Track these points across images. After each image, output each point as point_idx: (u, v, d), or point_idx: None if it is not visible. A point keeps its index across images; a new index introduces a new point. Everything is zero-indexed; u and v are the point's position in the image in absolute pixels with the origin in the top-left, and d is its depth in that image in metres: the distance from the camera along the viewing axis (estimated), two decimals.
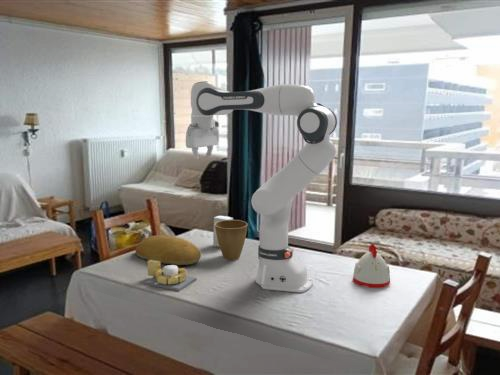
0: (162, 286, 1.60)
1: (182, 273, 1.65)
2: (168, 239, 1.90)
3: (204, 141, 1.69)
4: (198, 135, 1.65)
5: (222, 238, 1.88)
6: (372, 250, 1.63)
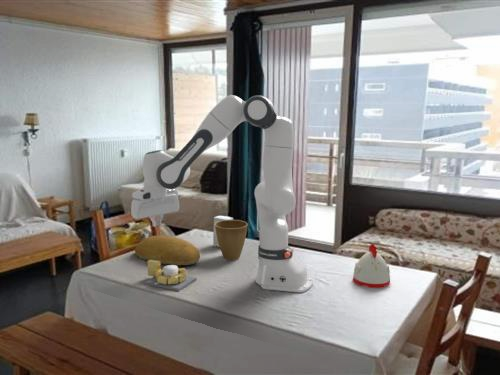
0: (162, 286, 1.60)
1: (182, 273, 1.65)
2: (167, 239, 1.90)
3: None
4: None
5: (222, 238, 1.88)
6: (372, 250, 1.63)
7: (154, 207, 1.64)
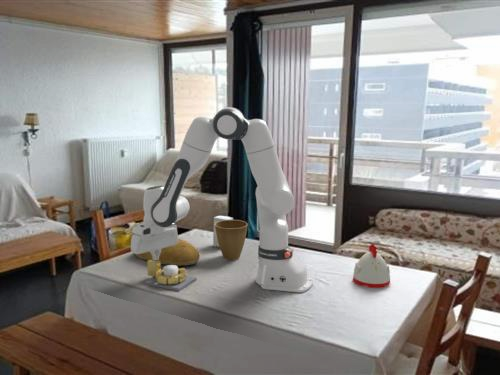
0: (162, 286, 1.60)
1: (182, 273, 1.65)
2: None
3: None
4: None
5: (222, 238, 1.88)
6: (372, 250, 1.63)
7: (153, 242, 1.66)
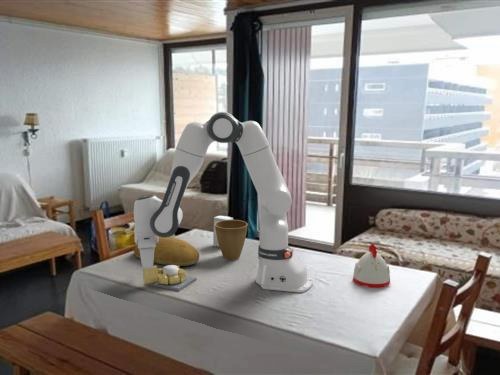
0: (162, 286, 1.60)
1: (181, 269, 1.69)
2: (166, 240, 1.89)
3: None
4: None
5: (222, 238, 1.88)
6: (372, 250, 1.63)
7: None
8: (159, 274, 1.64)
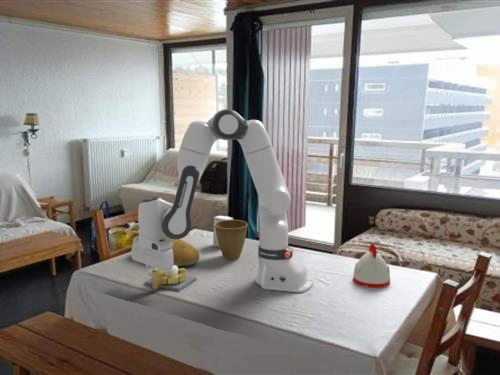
0: (162, 286, 1.60)
1: None
2: None
3: (145, 259, 1.57)
4: (138, 250, 1.60)
5: (222, 238, 1.88)
6: (372, 250, 1.63)
7: None
8: (163, 276, 1.62)
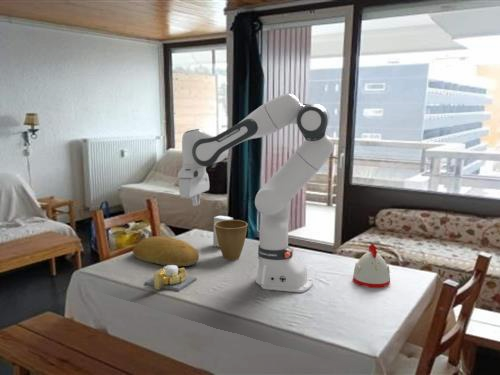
0: None
1: None
2: (166, 240, 1.89)
3: None
4: None
5: (222, 238, 1.88)
6: (372, 250, 1.63)
7: (197, 186, 1.65)
8: None
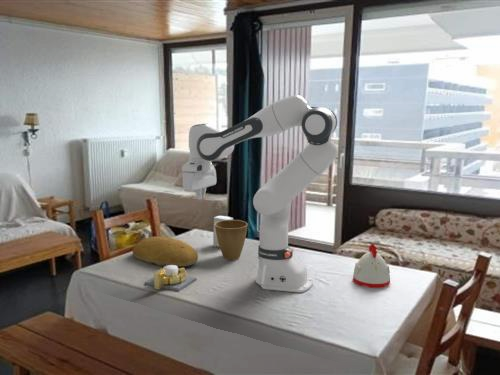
0: None
1: None
2: (165, 240, 1.88)
3: None
4: None
5: (222, 238, 1.88)
6: (372, 250, 1.63)
7: (201, 180, 1.67)
8: None
